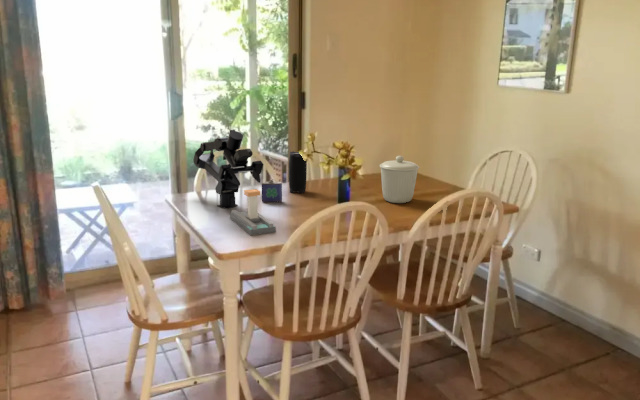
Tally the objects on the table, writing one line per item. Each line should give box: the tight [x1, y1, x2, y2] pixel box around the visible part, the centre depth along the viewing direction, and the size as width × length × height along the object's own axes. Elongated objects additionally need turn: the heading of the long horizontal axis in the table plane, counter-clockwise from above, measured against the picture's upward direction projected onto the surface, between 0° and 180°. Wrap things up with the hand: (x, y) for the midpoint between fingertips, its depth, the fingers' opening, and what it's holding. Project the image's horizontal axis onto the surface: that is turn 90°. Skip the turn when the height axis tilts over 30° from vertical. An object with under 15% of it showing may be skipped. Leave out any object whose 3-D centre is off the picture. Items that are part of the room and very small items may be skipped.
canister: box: [379, 155, 420, 204], centre depth 248 cm, size 18×18×21 cm
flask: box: [261, 178, 283, 204], centre depth 245 cm, size 9×3×11 cm, turn 95°
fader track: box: [229, 208, 277, 236], centre depth 212 cm, size 24×10×3 cm, turn 28°
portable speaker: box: [288, 150, 308, 194], centre depth 262 cm, size 9×9×20 cm
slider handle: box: [243, 188, 261, 222], centre depth 209 cm, size 5×5×12 cm
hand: (249, 183), depth 218 cm, fingers open, 9 cm apart
